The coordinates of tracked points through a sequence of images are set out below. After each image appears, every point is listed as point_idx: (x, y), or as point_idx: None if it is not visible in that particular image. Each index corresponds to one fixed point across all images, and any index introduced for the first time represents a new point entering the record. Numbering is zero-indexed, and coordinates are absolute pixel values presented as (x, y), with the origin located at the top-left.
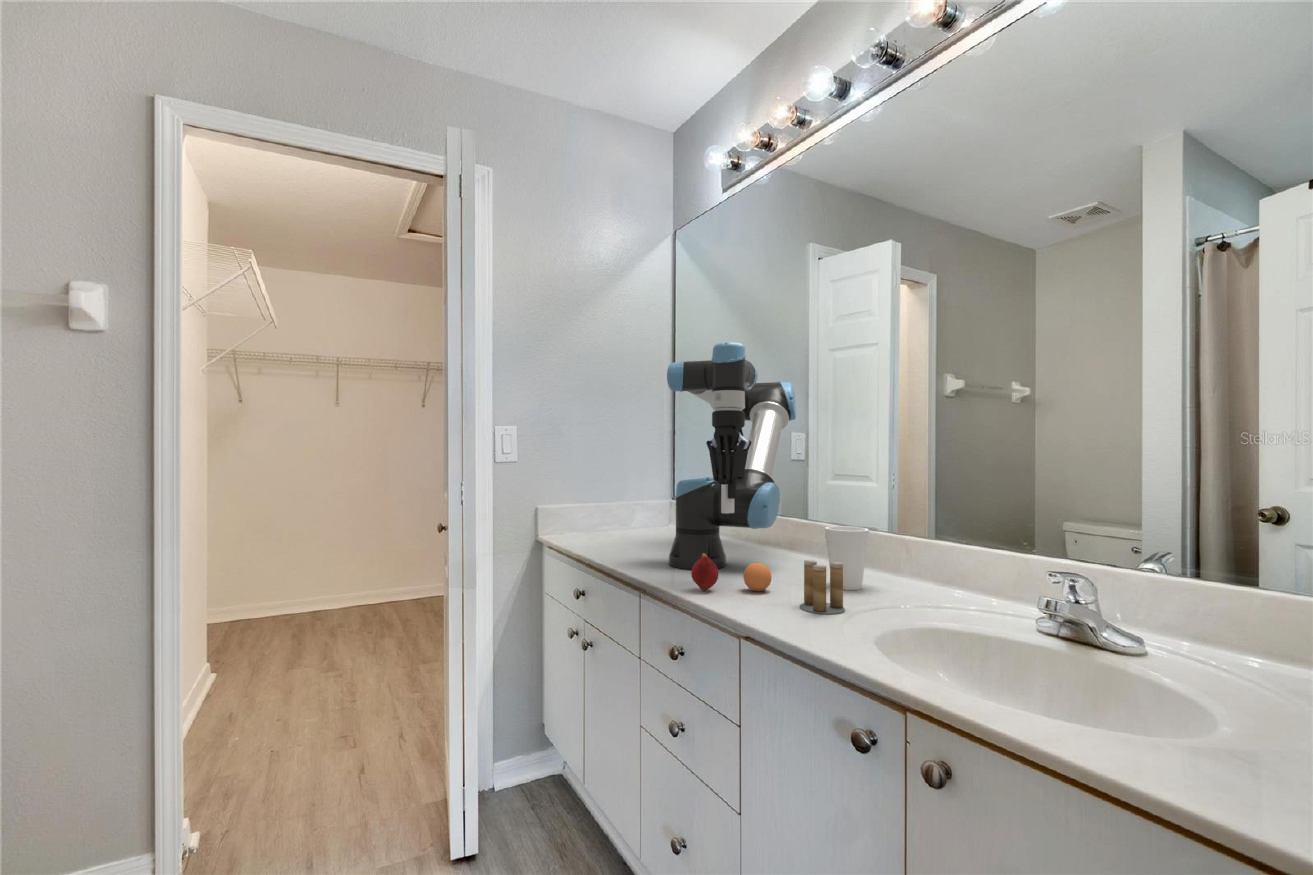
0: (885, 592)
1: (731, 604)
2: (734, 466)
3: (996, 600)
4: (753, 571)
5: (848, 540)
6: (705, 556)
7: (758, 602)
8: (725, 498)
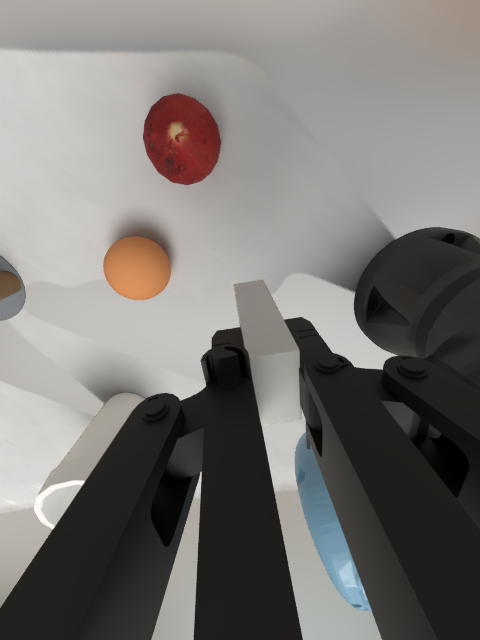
0: (77, 431)
1: (42, 125)
2: (90, 573)
3: (6, 502)
4: (113, 250)
5: (51, 473)
6: (168, 129)
7: (49, 200)
8: (240, 312)
